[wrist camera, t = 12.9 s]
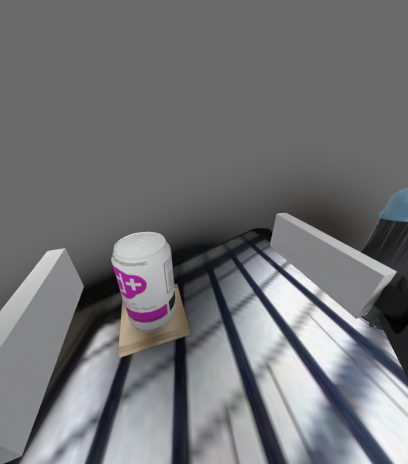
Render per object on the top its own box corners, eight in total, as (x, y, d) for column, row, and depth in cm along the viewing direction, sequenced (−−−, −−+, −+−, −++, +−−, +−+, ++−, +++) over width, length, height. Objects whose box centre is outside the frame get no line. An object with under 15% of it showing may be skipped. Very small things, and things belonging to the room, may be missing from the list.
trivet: (177, 288, 39) (177, 283, 38) (190, 334, 29) (189, 329, 29) (123, 300, 35) (122, 296, 35) (119, 357, 26) (117, 353, 26)
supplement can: (152, 345, 27) (135, 269, 20) (120, 318, 31) (96, 247, 24) (185, 307, 33) (181, 239, 26) (155, 289, 37) (144, 225, 30)
